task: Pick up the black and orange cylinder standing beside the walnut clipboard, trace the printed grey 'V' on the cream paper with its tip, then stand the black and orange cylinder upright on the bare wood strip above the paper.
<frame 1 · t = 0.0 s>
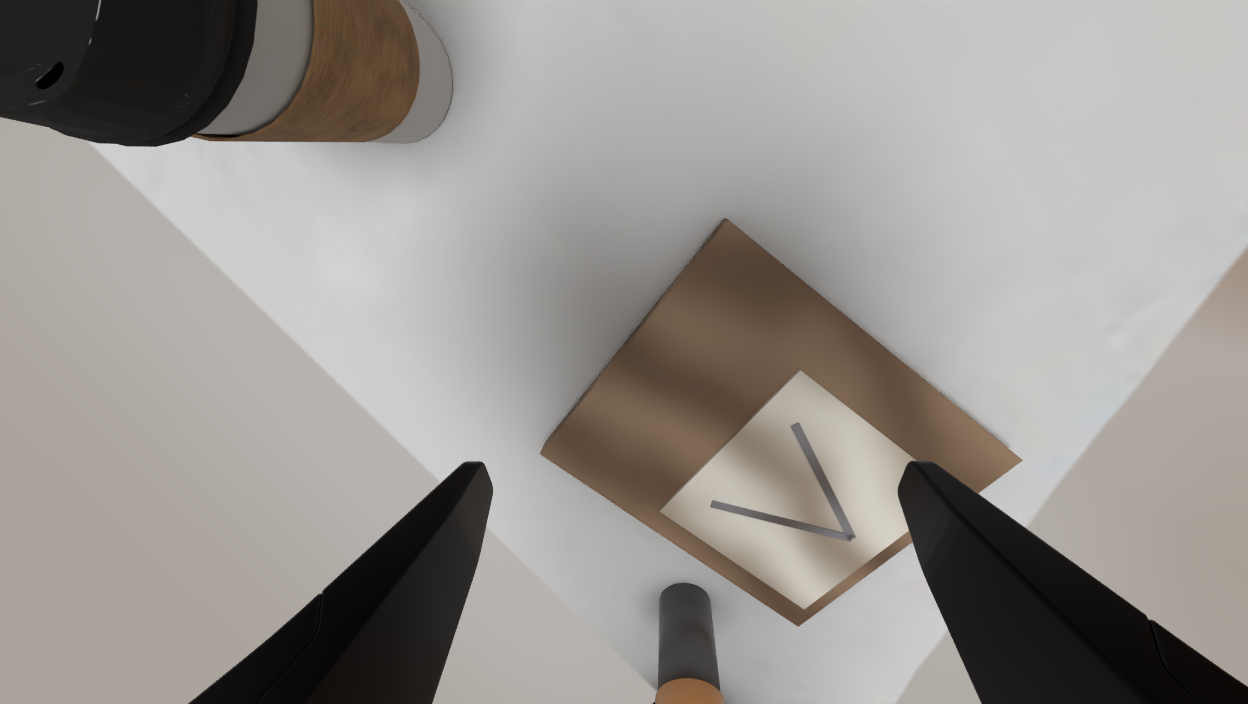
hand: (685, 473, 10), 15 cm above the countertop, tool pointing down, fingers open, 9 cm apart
black and orange cylinder: (684, 602, 31), on the countertop
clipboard: (764, 445, 26), on the countertop
coffee cup: (396, 77, 22), on the countertop
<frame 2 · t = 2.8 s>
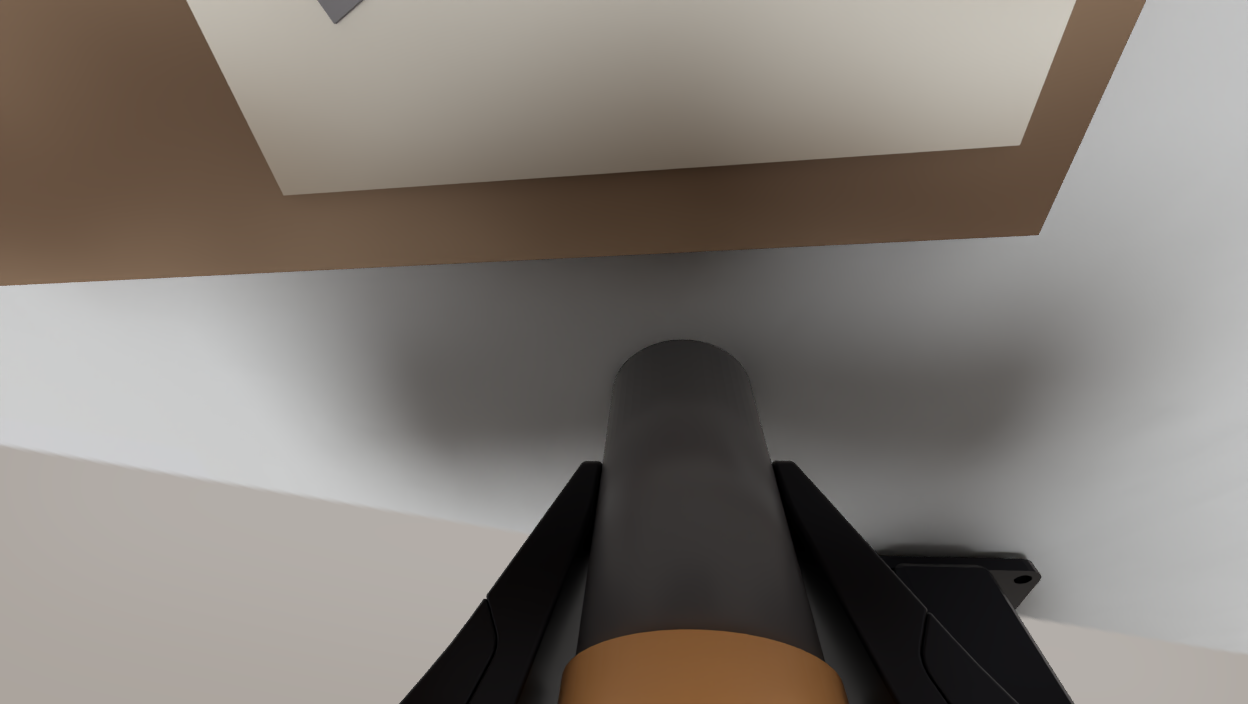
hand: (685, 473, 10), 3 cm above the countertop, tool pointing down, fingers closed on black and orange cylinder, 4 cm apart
black and orange cylinder: (680, 397, 12), on the countertop, touching gripper
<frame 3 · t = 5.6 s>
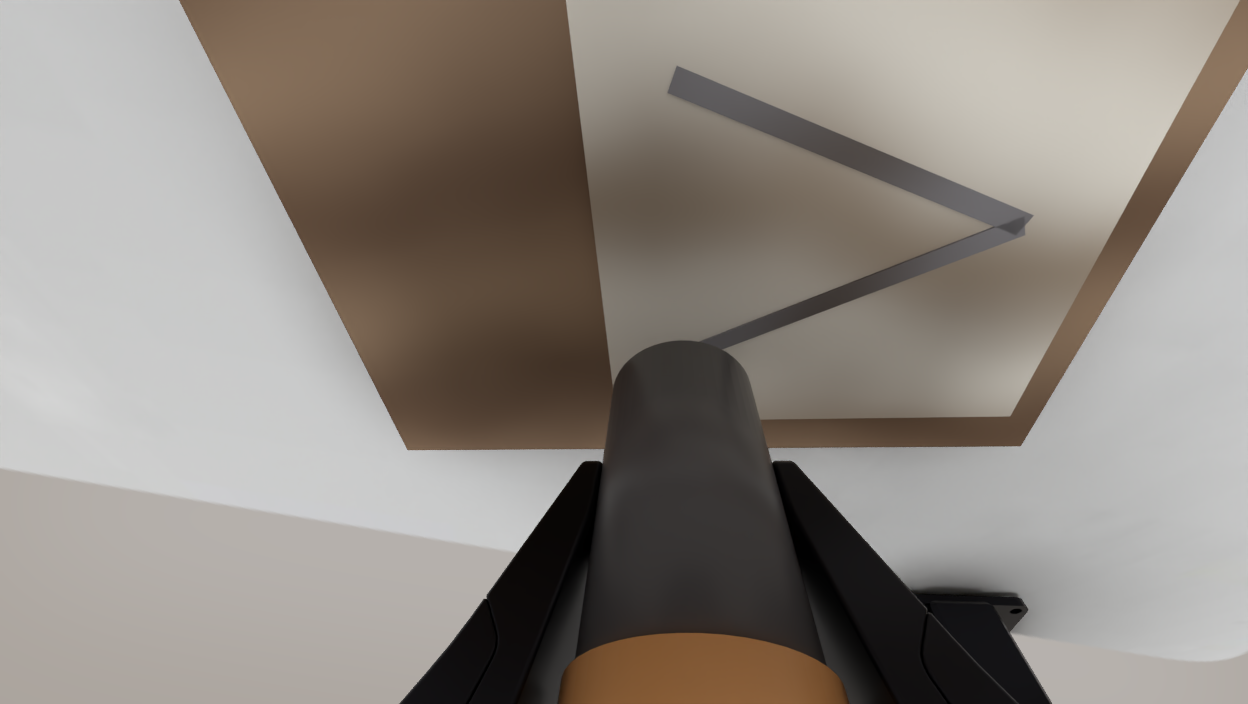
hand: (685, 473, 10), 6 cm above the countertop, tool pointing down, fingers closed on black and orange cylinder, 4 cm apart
black and orange cylinder: (680, 397, 12), point 3 cm above the countertop, touching gripper
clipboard: (692, 186, 12), on the countertop
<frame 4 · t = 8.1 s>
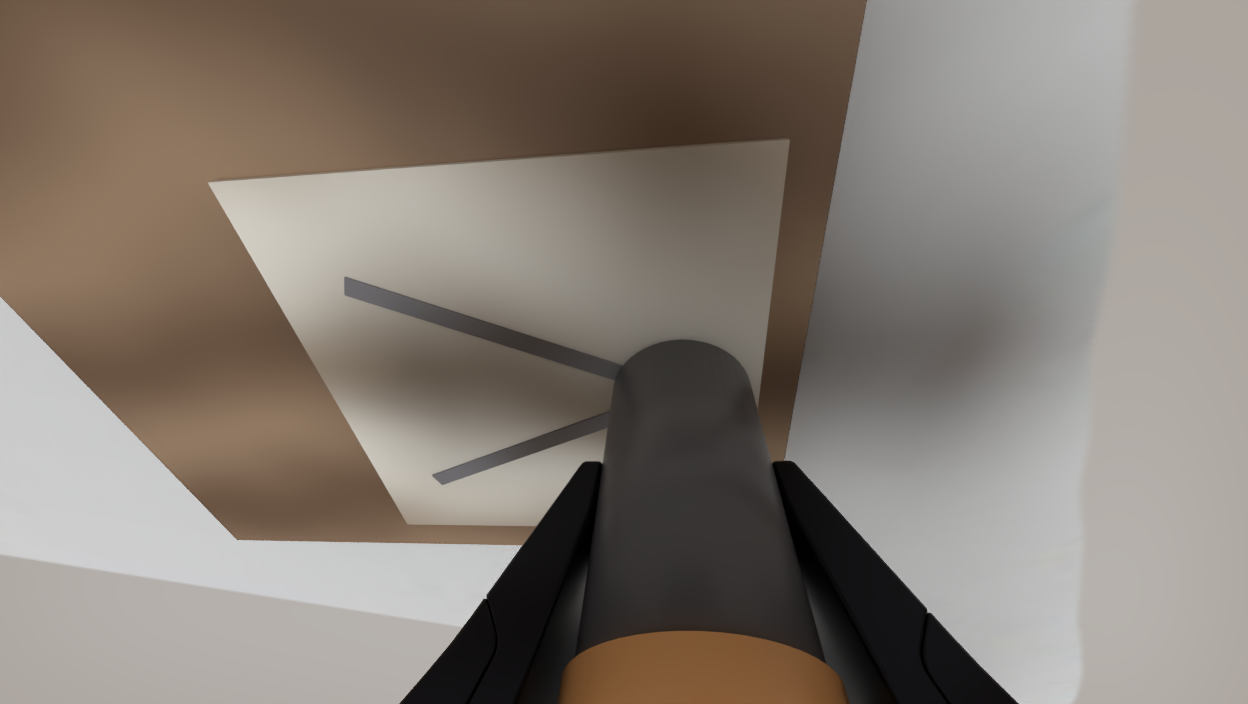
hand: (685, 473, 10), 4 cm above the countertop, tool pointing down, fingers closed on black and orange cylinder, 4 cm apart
black and orange cylinder: (680, 397, 12), point 2 cm above the countertop, touching gripper
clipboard: (425, 340, 13), on the countertop
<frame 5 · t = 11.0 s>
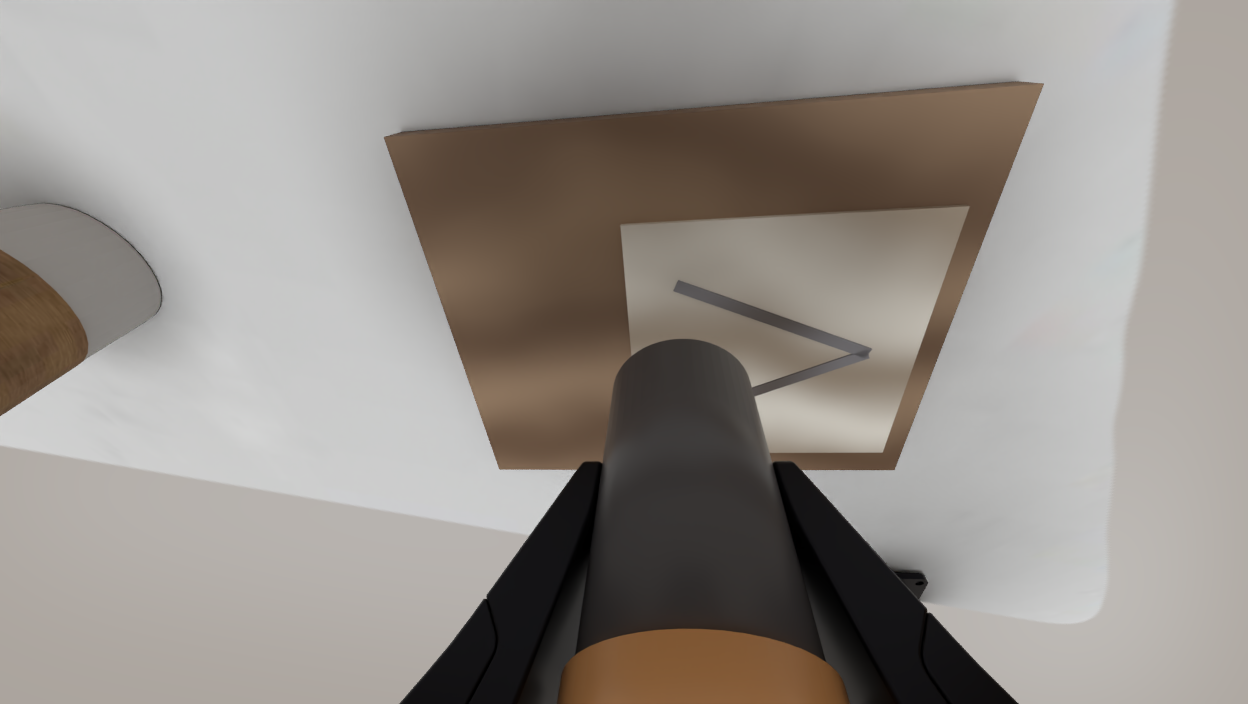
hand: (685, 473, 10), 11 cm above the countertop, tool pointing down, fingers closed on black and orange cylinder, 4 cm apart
black and orange cylinder: (680, 396, 12), point 8 cm above the countertop, touching gripper
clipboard: (686, 321, 20), on the countertop
coffee cup: (97, 265, 21), on the countertop
when the fingers open (5 cm above the countertop, at t = 13.7 s): black and orange cylinder stays where it is, resting on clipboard.
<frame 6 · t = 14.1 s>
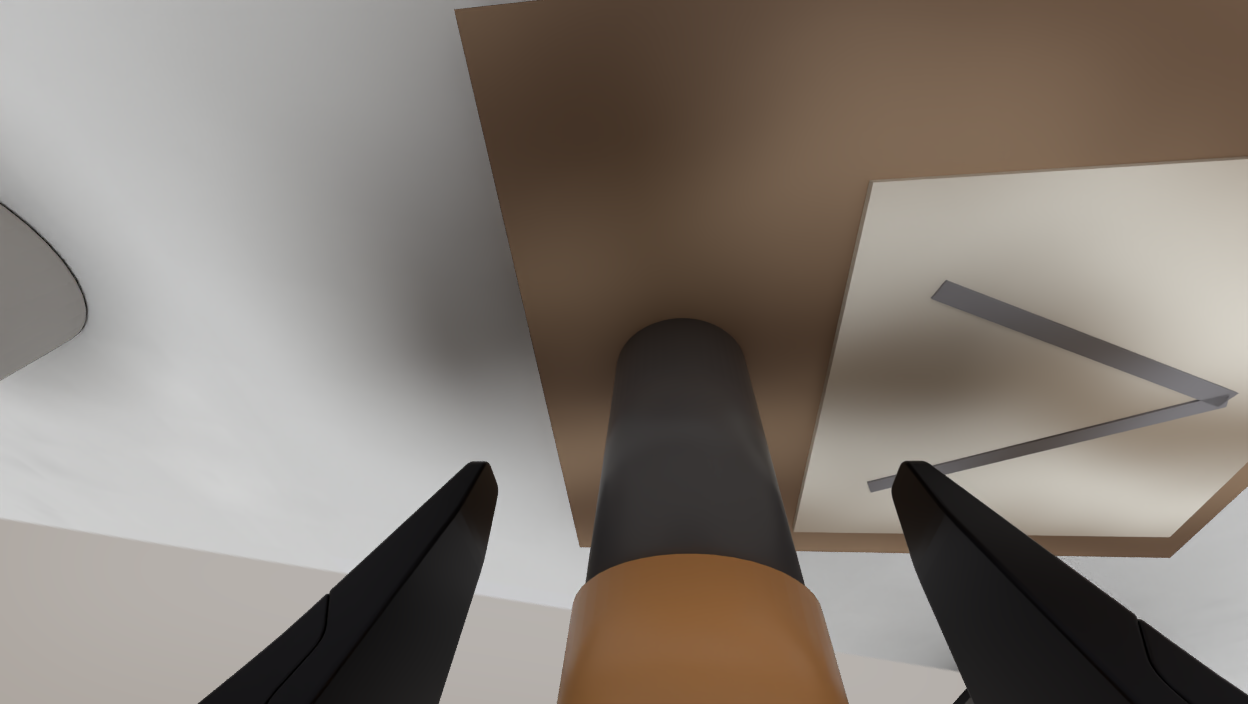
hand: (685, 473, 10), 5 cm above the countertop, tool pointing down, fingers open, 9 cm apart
black and orange cylinder: (680, 373, 12), point 1 cm above the countertop, touching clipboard
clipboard: (903, 345, 13), on the countertop
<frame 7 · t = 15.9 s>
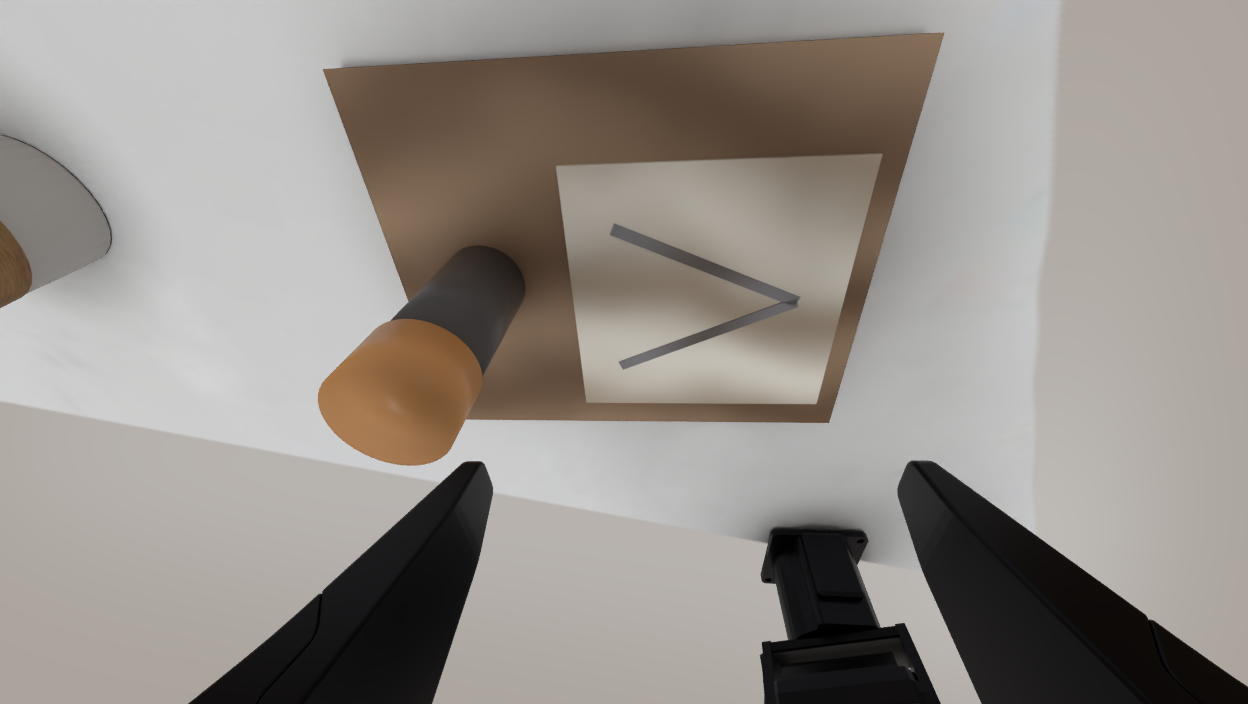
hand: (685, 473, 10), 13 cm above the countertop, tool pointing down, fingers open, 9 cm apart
black and orange cylinder: (486, 282, 20), point 1 cm above the countertop, touching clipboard
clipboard: (628, 270, 21), on the countertop
coffee cup: (44, 201, 21), on the countertop
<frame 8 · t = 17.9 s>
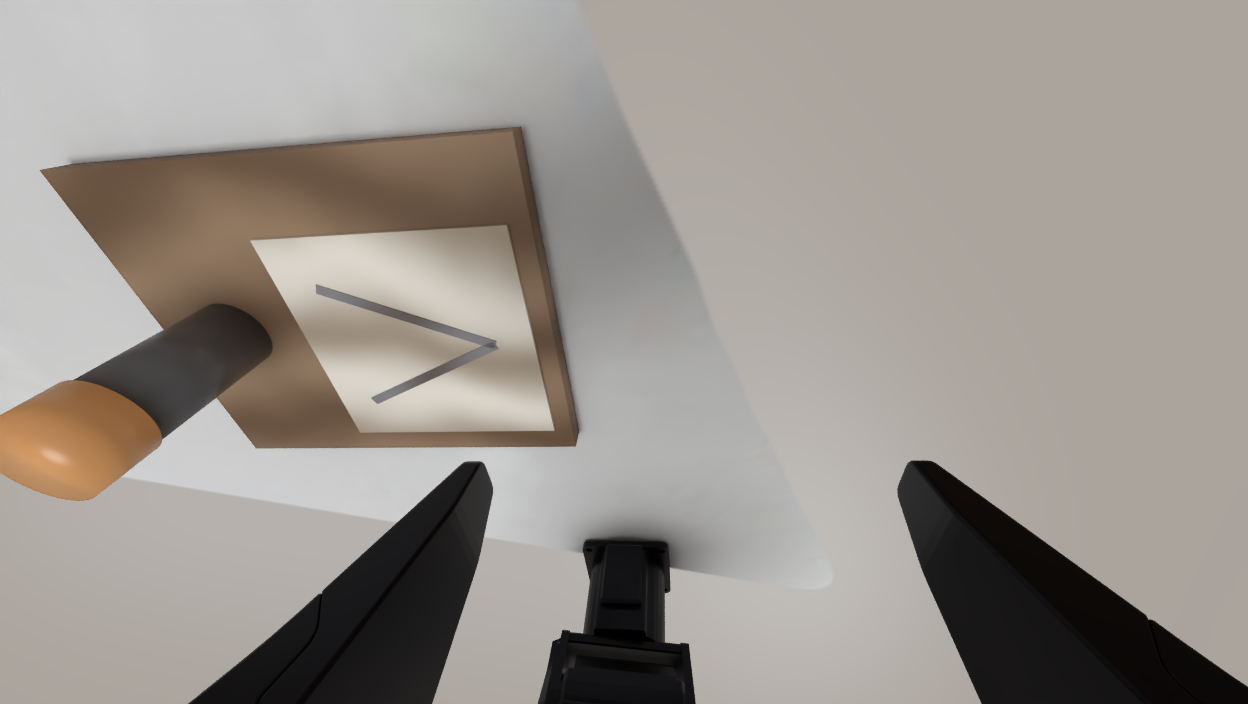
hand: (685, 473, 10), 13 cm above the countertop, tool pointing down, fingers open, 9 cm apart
black and orange cylinder: (236, 333, 23), point 1 cm above the countertop, touching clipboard
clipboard: (364, 319, 24), on the countertop
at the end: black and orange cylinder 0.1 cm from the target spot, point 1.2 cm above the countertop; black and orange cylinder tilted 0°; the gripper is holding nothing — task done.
